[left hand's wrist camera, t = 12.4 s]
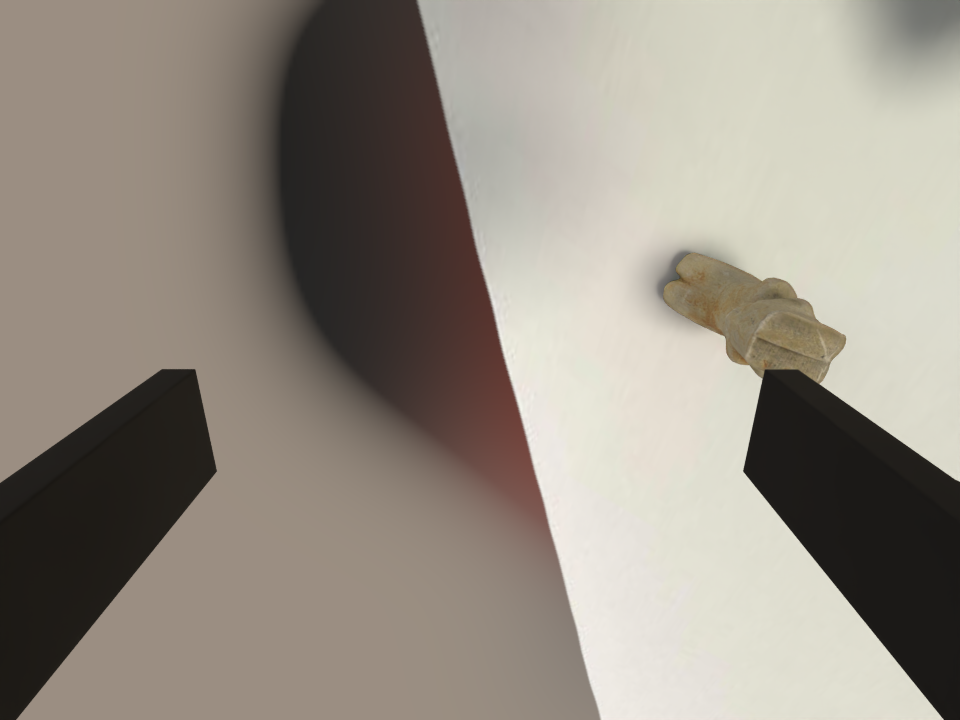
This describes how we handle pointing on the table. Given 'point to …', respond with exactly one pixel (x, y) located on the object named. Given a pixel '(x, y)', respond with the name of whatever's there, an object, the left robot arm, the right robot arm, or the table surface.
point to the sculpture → (754, 317)
